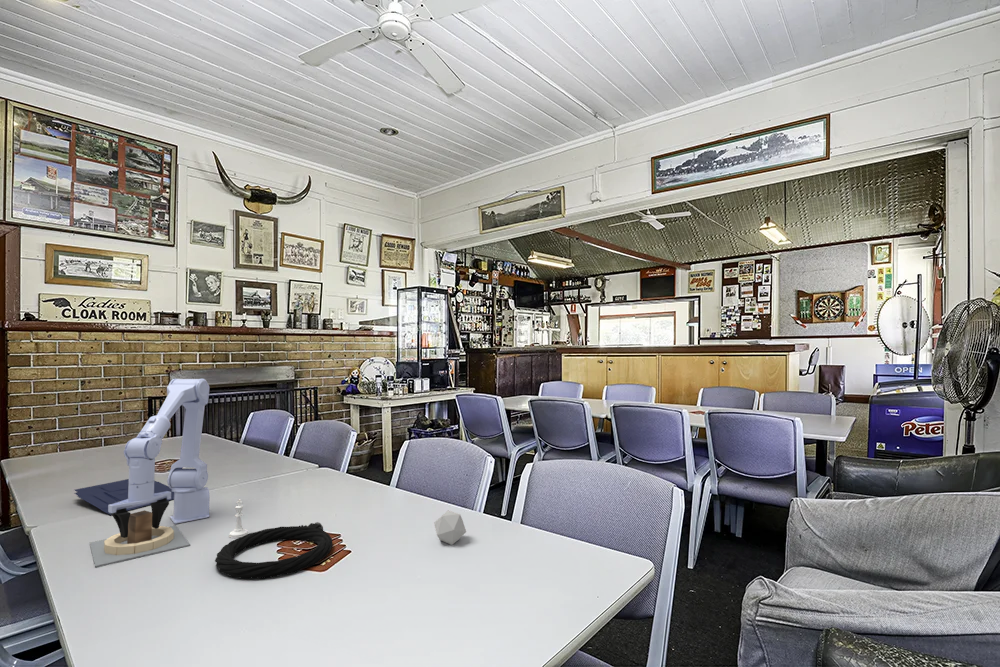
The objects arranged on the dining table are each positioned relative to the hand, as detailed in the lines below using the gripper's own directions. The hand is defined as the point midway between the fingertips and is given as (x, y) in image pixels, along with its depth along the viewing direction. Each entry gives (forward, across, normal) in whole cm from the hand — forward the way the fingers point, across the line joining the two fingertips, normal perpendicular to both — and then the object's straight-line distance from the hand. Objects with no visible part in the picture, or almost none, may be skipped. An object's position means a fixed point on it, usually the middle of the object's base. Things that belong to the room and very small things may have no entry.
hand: (140, 532), depth 134 cm
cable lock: (+4, -14, +39) cm, 41 cm away
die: (+4, -43, +73) cm, 84 cm away
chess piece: (+4, -18, +17) cm, 24 cm away
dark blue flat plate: (+4, -20, -49) cm, 53 cm away
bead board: (+3, 0, 0) cm, 3 cm away
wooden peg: (+3, 0, 0) cm, 3 cm away
